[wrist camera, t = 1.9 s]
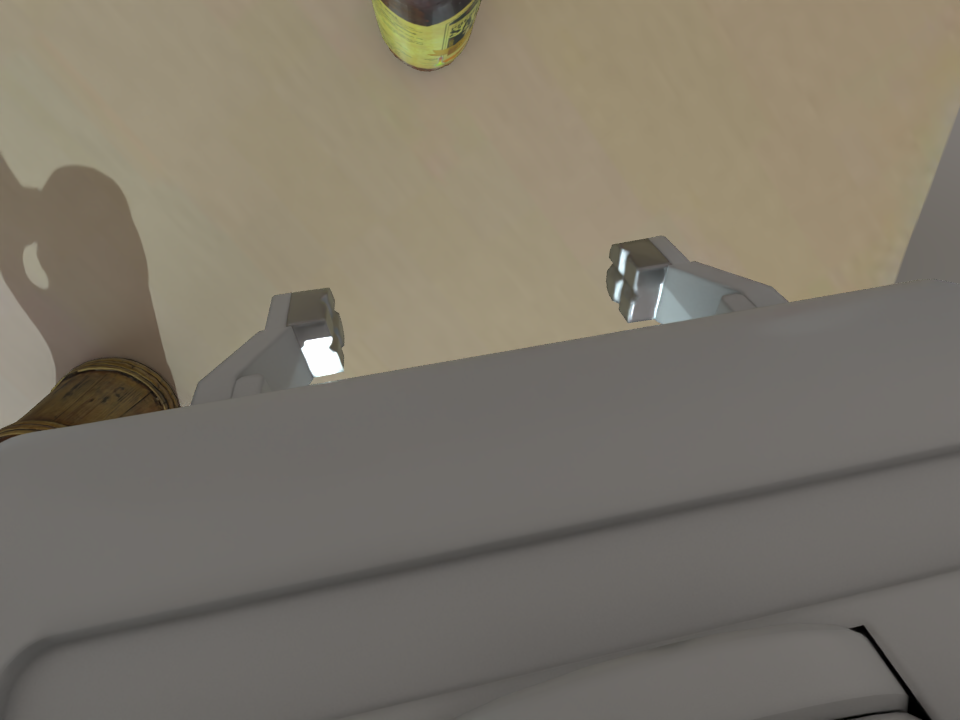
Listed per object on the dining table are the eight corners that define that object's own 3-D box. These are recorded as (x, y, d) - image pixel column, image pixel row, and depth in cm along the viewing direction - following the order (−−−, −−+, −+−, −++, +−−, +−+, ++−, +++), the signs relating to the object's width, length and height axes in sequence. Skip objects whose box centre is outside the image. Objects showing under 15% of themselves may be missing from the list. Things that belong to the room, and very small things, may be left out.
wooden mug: (-17, 359, 38) (-367, 508, 21) (168, 356, 39) (-21, 493, 22) (20, 457, 41) (-259, 654, 24) (189, 451, 42) (37, 633, 26)
